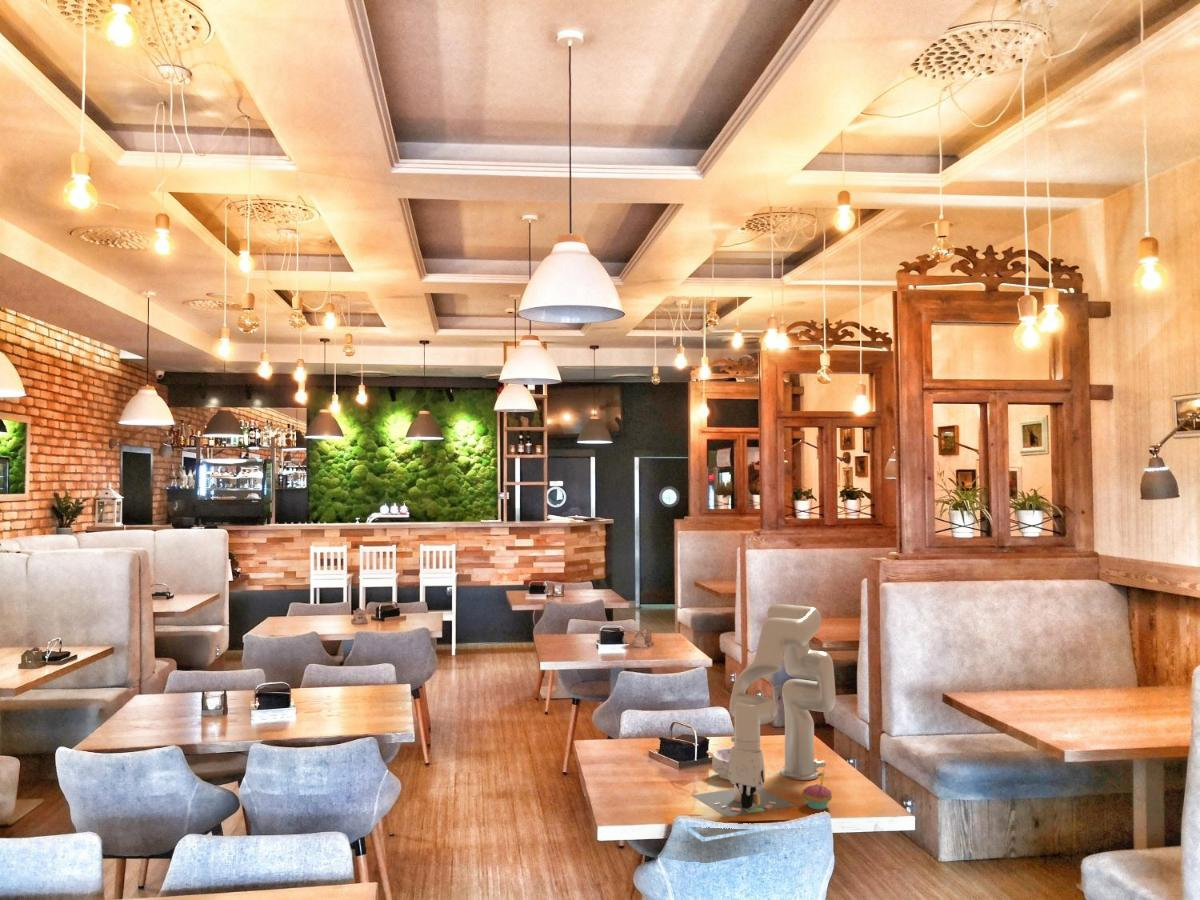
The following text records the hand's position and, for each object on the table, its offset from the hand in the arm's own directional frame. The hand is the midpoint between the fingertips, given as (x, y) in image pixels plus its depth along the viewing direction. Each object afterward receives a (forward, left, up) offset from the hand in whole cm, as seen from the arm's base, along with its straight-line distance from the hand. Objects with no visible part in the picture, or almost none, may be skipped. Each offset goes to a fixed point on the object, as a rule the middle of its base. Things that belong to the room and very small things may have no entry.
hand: (746, 807), depth 272 cm
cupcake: (-22, +5, -3) cm, 23 cm away
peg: (-3, -4, -1) cm, 6 cm away
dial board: (-4, -8, -2) cm, 9 cm away
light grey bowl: (-15, -29, -3) cm, 33 cm away
